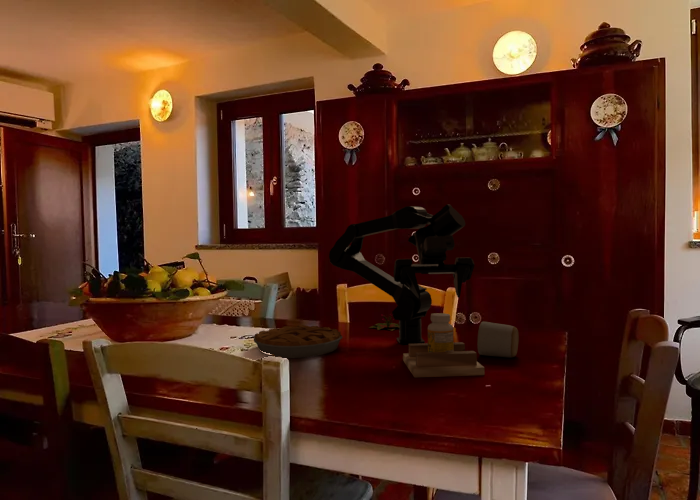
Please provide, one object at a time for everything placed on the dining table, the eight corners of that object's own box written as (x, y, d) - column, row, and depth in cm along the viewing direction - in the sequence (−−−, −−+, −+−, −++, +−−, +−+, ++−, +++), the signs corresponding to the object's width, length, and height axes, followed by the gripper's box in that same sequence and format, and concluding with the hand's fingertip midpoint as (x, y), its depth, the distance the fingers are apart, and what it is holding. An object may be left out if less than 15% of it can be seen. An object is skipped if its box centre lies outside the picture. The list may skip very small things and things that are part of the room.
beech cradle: (403, 360, 114) (402, 342, 114) (464, 358, 115) (464, 340, 115) (414, 377, 100) (414, 357, 100) (484, 375, 101) (484, 354, 101)
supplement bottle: (453, 363, 104) (453, 316, 104) (427, 362, 106) (426, 316, 105) (453, 357, 110) (453, 312, 109) (428, 356, 111) (428, 312, 111)
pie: (287, 365, 112) (286, 342, 112) (237, 349, 129) (237, 330, 129) (360, 349, 127) (359, 329, 127) (307, 337, 143) (306, 319, 143)
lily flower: (415, 327, 156) (415, 312, 156) (394, 334, 146) (393, 318, 146) (382, 324, 163) (382, 309, 163) (360, 330, 154) (360, 315, 154)
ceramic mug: (514, 361, 111) (514, 326, 111) (476, 358, 115) (476, 323, 115) (521, 352, 121) (521, 319, 121) (486, 349, 124) (486, 317, 124)
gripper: (394, 225, 121) (402, 275, 110) (471, 223, 122) (487, 273, 111) (390, 257, 129) (397, 306, 119) (463, 255, 130) (476, 304, 120)
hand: (439, 297), depth 117 cm, fingers open, 9 cm apart
